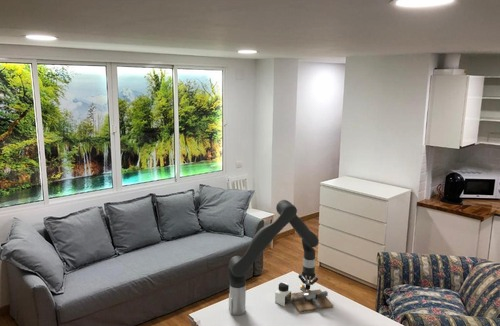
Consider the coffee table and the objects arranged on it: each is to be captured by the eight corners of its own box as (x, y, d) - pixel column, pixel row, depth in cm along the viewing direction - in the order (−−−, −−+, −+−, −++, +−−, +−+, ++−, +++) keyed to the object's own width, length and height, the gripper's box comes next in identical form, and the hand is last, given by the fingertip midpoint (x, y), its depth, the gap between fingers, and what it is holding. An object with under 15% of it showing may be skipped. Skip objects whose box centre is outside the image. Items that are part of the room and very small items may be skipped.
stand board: (298, 313, 223) (298, 310, 223) (287, 296, 240) (287, 293, 240) (333, 307, 229) (333, 304, 229) (319, 291, 246) (320, 288, 246)
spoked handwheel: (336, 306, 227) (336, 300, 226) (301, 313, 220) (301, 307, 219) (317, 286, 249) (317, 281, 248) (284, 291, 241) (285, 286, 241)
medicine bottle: (284, 306, 229) (285, 288, 227) (274, 302, 233) (275, 284, 231) (291, 301, 235) (291, 283, 232) (281, 297, 239) (281, 279, 236)
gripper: (297, 265, 238) (296, 291, 241) (319, 268, 234) (317, 294, 238) (299, 260, 245) (298, 285, 248) (320, 263, 241) (318, 288, 245)
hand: (307, 289), depth 243 cm, fingers closed
